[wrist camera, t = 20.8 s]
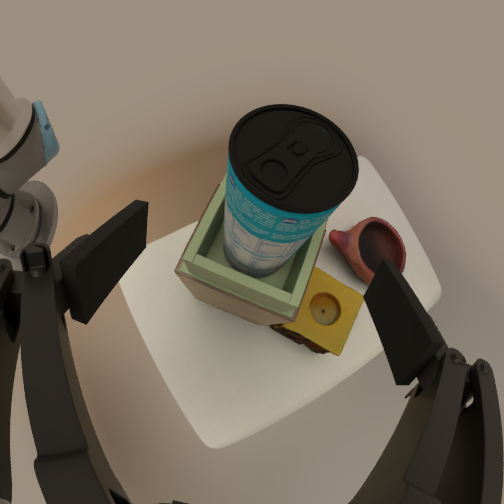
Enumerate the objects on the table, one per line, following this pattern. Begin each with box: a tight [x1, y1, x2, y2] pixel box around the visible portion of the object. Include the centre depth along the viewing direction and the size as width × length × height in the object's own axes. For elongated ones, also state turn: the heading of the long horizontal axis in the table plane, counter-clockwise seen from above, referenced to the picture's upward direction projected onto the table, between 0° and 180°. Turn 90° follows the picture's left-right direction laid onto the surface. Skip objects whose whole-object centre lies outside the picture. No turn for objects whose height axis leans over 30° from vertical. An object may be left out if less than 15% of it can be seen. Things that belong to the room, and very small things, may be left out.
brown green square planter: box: [174, 184, 326, 325], centre depth 36 cm, size 12×10×22 cm
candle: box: [270, 267, 364, 356], centre depth 42 cm, size 10×10×10 cm
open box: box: [180, 173, 328, 318], centre depth 23 cm, size 11×10×5 cm
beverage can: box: [223, 104, 359, 278], centre depth 18 cm, size 6×6×15 cm
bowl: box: [329, 217, 406, 284], centre depth 47 cm, size 16×13×8 cm
